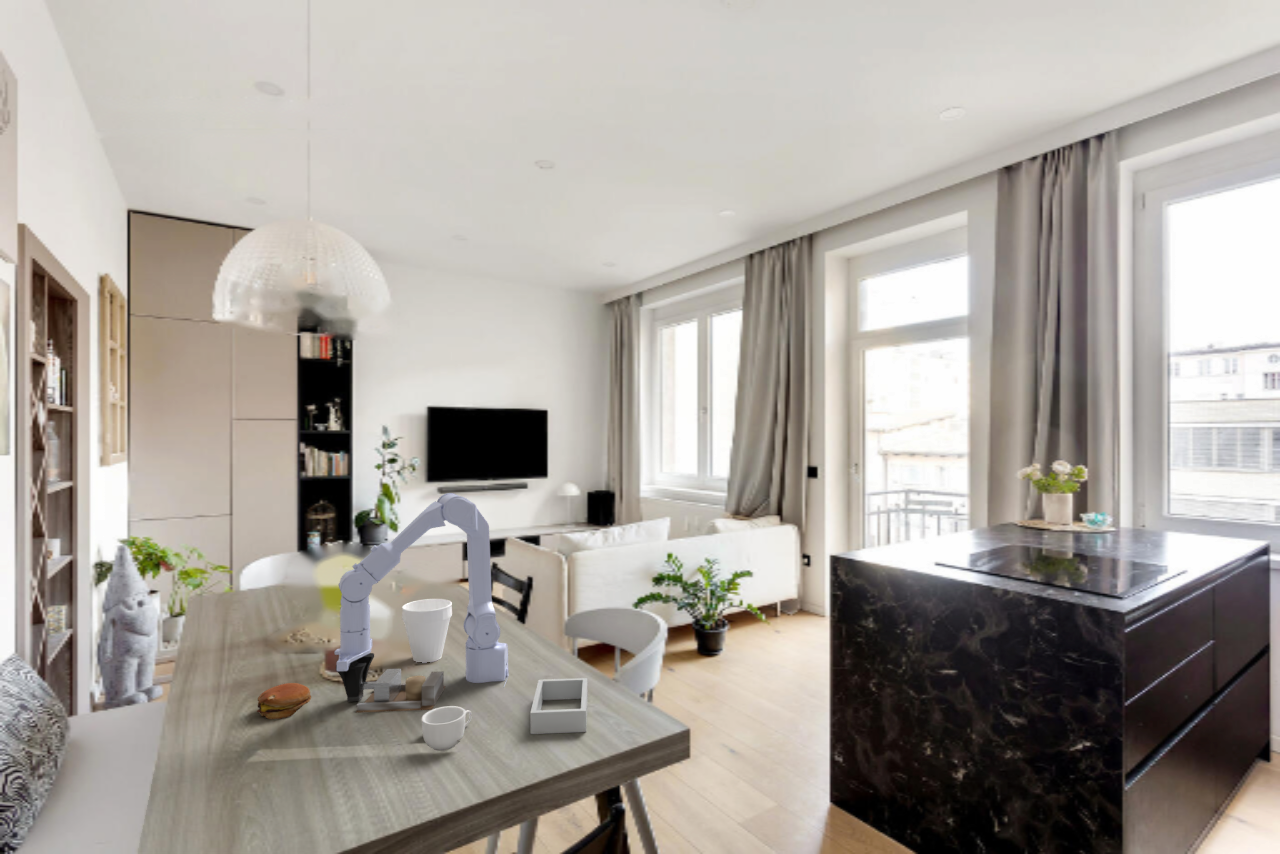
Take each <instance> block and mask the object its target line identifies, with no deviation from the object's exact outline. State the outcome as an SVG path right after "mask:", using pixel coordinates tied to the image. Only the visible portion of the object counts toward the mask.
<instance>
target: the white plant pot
mask: <svg viewBox="0 0 1280 854" xmlns="http://www.w3.org/2000/svg"><path fill="white" fill-rule="evenodd" d="M452 606H453V602H452V601H451V600H450V599H449V600H448V599H445V598H426V599H418V600H414V601H410V602H408V603H404V605H402V606H401V610H402V611H401V612H402V613H401V620H402V621H403V623H404V628H405V632H406V636H407V639H408V645H409V647H410V652H411V655H412V656H411V657H412V659H413V662H414V661H416V662H415V663H417V662H422V663H421V664H428V663H427V662H430V663H433V662H434V663H435V662H437V661H439V660H441V658H442V657H443V653H444V648H445V645H446V639H447V634H448V631H449V630H448V629H449V626H450V621H451V617H452V616H453V607H452Z"/></svg>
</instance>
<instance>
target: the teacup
mask: <svg viewBox="0 0 1280 854" xmlns="http://www.w3.org/2000/svg"><path fill="white" fill-rule="evenodd" d="M467 714H468V716H469V717H468V719H467V721H466V718H467V717H466V716H467ZM472 718H473V713H472V711H471V710H468V709H467V710H466V709H465V708H463V707H461V706H457V705H456V706H455V705H449V706H447V705H446V706H440V707H436V708H432V710H427V712H425V713H424V714H423V715H422V716H421V730H422V732H421V733H422V737H423V740H424V742H425V744H426V745H427V746H428V747H429V748H430V749H433V750H436V751H445V750H449V749H452V748H454V747H455V746H456V745H458V744H459V743H460V742H461V741H460V740H461V739H462V738H463V737H464V734H465V729H466V727H468V725H469V724H470V722H471V721H472Z"/></svg>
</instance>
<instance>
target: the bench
mask: <svg viewBox="0 0 1280 854" xmlns="http://www.w3.org/2000/svg"><path fill="white" fill-rule="evenodd" d="M444 680H445V678H444V671H442V670H441V671H431V672H430V674H429V675H428V676H427V678H426V681H425V682H424V684H423V685H422V700H421V701H406V683H401V691H400V692H399V694H398V695H397V696H396V697H395V699H394V700H393V701H392V702H374V691H373V692H372V693H370V695H369V696H368V697H367V699H366V700H365V701H364V702H358V703H357V704H356V711H355V713H357V714H358V713H380V712H383V713H385V712H403V711H405V712H406V711H430V710H433V709H434V707H435V705H436V704H437V702H438V700H439V699H440V697H441V695H442V693H443V692H444V690H445V689H446V687H447V686H446V685H444Z"/></svg>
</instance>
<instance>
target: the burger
mask: <svg viewBox="0 0 1280 854" xmlns="http://www.w3.org/2000/svg"><path fill="white" fill-rule="evenodd" d="M311 698H312V695H311V691H310V688H309V687H308V686H306V685H304V684H301V683H298V682H287V683H282V684H279V685H276V686H275V685H274V686H273V687H270V688H268V689H266V690H264V691H263V692H262V693H260V694H259V696H258V697H257V708H258V709H257V710H256V712H257V713H259V714H260V716H262V717H265V718H266V719H267V720H279V719H284V718H285V719H286V718H290V717H292V716H293V715H294V714H295V713H296V712H298V711H299V710H300V709H301V708H302V707H303V706H304V705H306V704H308V703H310V701H311Z"/></svg>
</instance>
